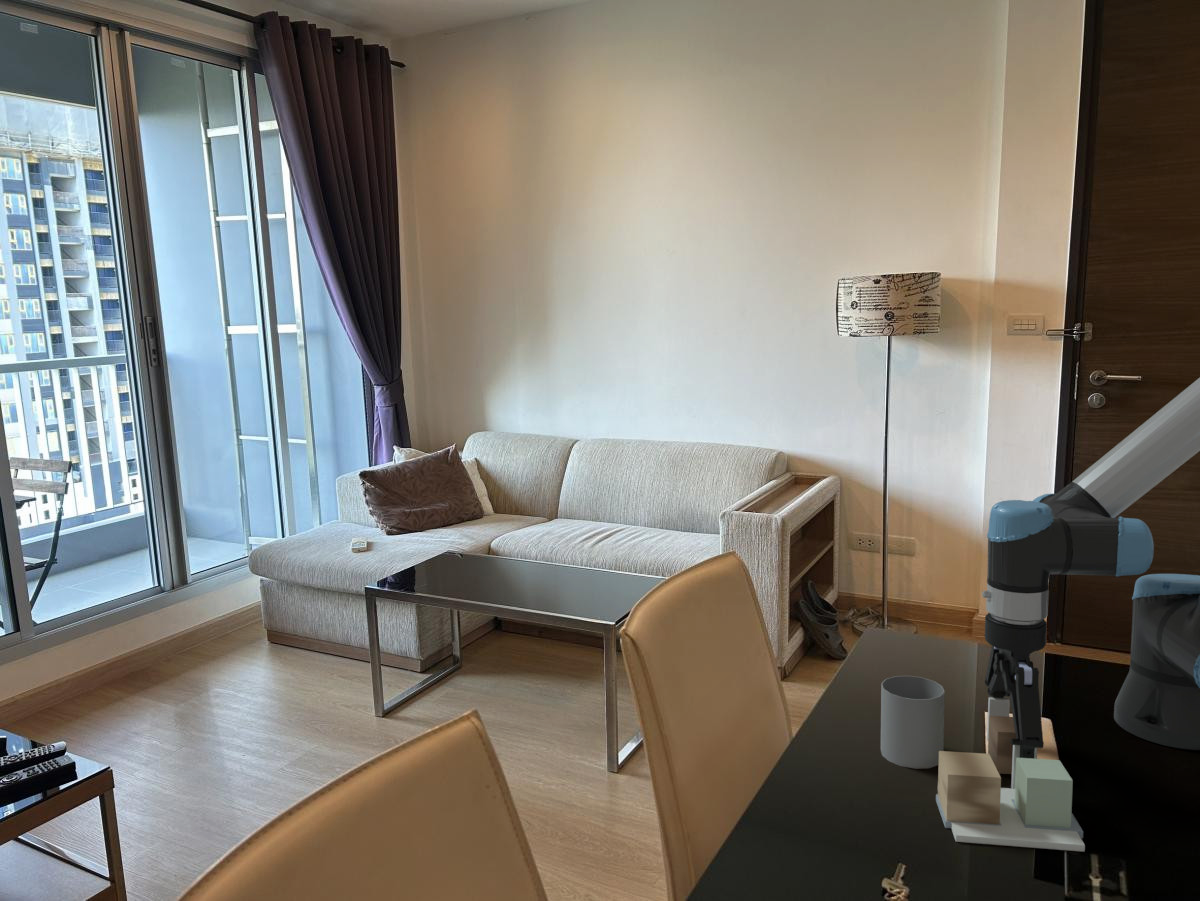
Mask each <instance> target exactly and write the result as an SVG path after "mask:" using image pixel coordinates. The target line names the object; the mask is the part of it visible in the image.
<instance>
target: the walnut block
mask: <svg viewBox="0 0 1200 901" xmlns="http://www.w3.org/2000/svg"><path fill="white" fill-rule="evenodd" d="M1012 739H1016V736H1015V729H1014V721H1013V716H1009V717H1004V716H989V735H988V740H987V754H989V755H990V757H991V759H992V761H993V763H994V765H995V767H996V769H997V771H998V773H999V775H1002V774H1003V775H1012V757H1013V745H1011V743H1010V741H1011V740H1012Z"/></svg>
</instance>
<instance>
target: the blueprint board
mask: <svg viewBox="0 0 1200 901" xmlns="http://www.w3.org/2000/svg"><path fill="white" fill-rule="evenodd" d="M935 802H936V805H937V807H938V811H939V813H940V816H941V820H942V822H943V825H944V828H945V829H951V831H952V834H953V835H952V836H953V838H954V840H955V842H957V843H958V842H959V843H968V844H969V843H970V844H982V845H995V846H1006V847H1007V846H1008V847H1009V846H1010V847H1019V848H1020V847H1021V848H1034V849H1047V850H1059V851H1072V852H1083V853H1084V852H1086V851H1085V850H1086V845H1085V843H1084V841H1083V839H1084V831H1083V829H1082V827H1081V826H1080V824H1079V822H1078V820H1077V818H1076V817H1075V815H1074V814H1073V813H1072V811H1071V828H1064V827H1051V826H1037V825H1025V823H1024V821H1023V819H1022V817H1021V815H1020V813H1019V811H1018V808H1017V806H1016V804H1015V789H1012V788H1011V787H1010V788H1009V787H1001V794H1000V825H998V824H984V823H971V822H957V821H947V820H946V817H945V814H944V811H943V808H942V805H941V803H940V800H939V797H938V793H936V794H935Z"/></svg>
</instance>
